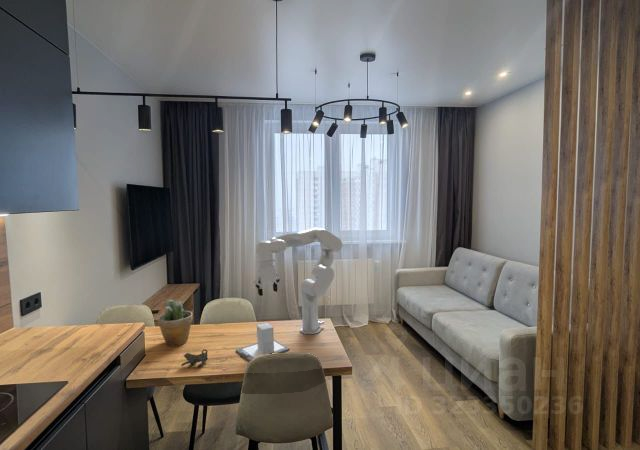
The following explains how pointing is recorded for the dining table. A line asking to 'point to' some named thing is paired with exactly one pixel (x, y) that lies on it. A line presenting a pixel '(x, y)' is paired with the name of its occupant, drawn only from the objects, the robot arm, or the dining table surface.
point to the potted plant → (175, 323)
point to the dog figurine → (196, 358)
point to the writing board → (253, 351)
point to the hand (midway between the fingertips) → (268, 293)
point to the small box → (265, 338)
